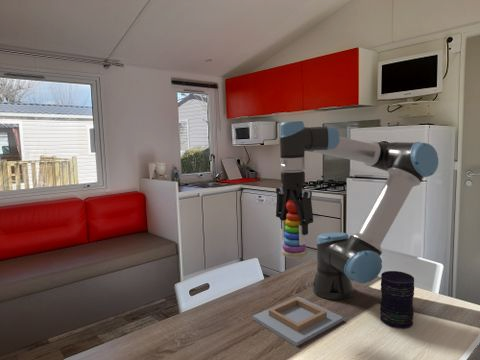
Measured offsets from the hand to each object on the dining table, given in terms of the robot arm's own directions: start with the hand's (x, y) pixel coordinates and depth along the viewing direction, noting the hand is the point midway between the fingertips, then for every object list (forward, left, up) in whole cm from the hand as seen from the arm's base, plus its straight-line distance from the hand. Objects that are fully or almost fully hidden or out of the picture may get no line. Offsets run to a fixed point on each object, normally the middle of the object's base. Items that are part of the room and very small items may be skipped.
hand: (294, 241), depth 112 cm
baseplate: (0, +1, -27) cm, 27 cm away
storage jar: (-24, +22, -27) cm, 42 cm away
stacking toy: (0, 0, -5) cm, 5 cm away
